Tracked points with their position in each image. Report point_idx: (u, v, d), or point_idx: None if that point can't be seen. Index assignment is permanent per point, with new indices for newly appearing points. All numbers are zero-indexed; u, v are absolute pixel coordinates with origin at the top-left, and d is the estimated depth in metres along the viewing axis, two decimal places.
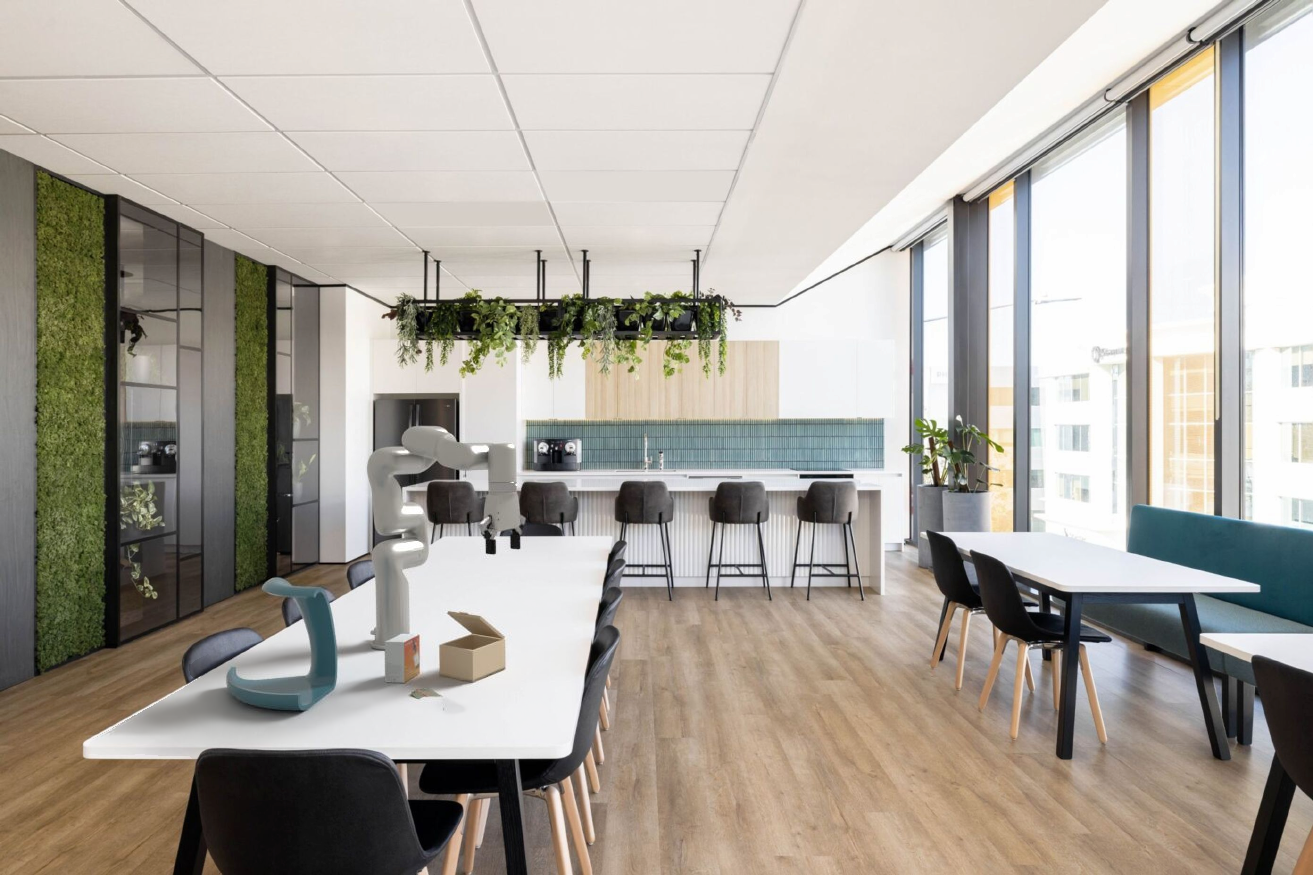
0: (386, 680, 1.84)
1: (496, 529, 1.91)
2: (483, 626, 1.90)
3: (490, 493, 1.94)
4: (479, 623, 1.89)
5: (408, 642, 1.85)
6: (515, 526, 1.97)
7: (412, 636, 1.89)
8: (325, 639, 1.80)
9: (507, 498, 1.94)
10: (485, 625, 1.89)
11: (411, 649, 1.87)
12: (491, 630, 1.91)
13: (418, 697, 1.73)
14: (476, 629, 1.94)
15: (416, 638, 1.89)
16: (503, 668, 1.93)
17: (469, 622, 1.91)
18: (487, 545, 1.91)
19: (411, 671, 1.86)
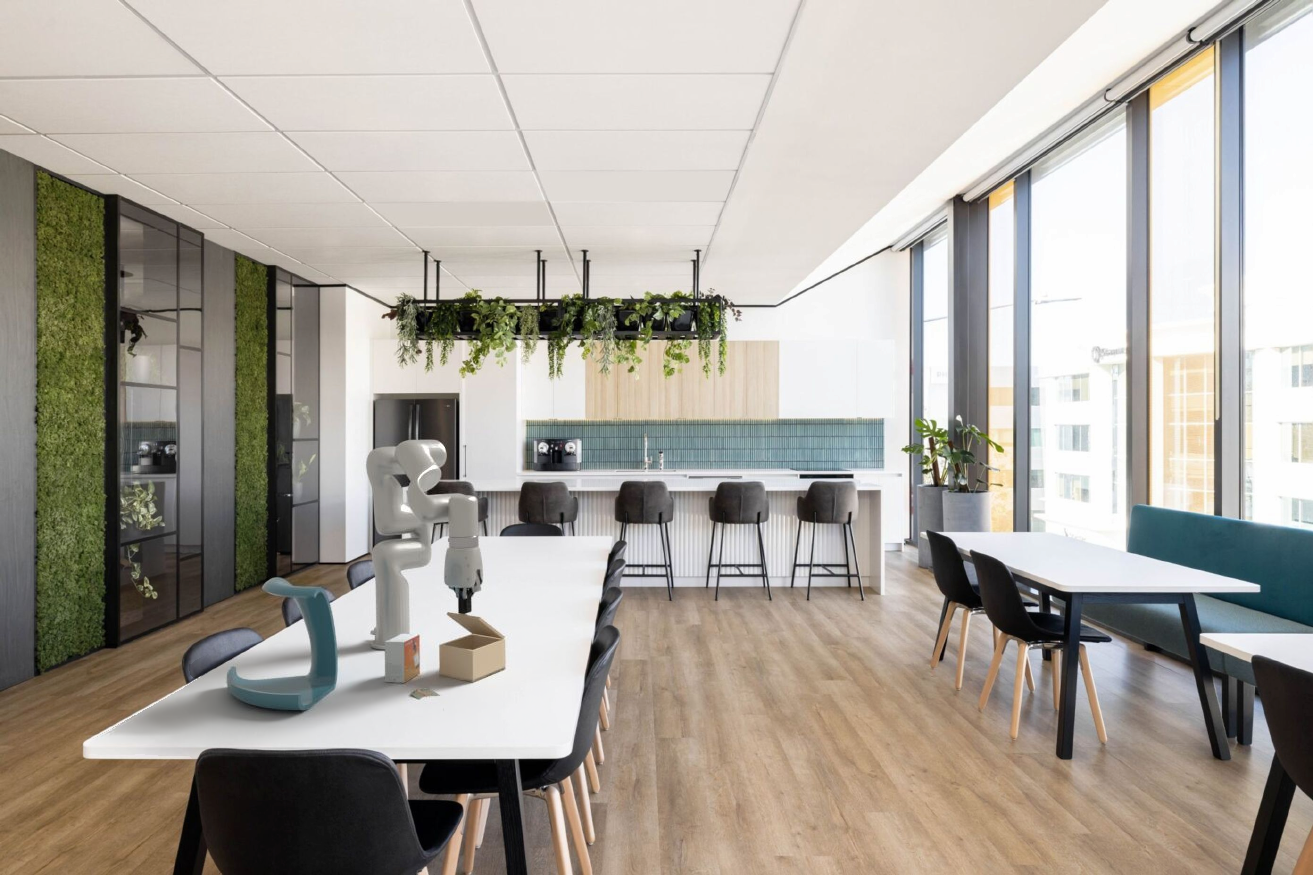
0: (386, 680, 1.84)
1: None
2: (483, 627, 1.90)
3: (470, 548, 1.86)
4: (479, 624, 1.89)
5: (408, 642, 1.85)
6: None
7: (412, 636, 1.89)
8: (325, 639, 1.80)
9: None
10: (485, 626, 1.89)
11: (411, 649, 1.87)
12: (491, 630, 1.90)
13: (418, 697, 1.73)
14: (476, 629, 1.94)
15: (416, 638, 1.89)
16: (503, 668, 1.93)
17: (469, 623, 1.91)
18: (468, 604, 1.88)
19: (411, 671, 1.86)
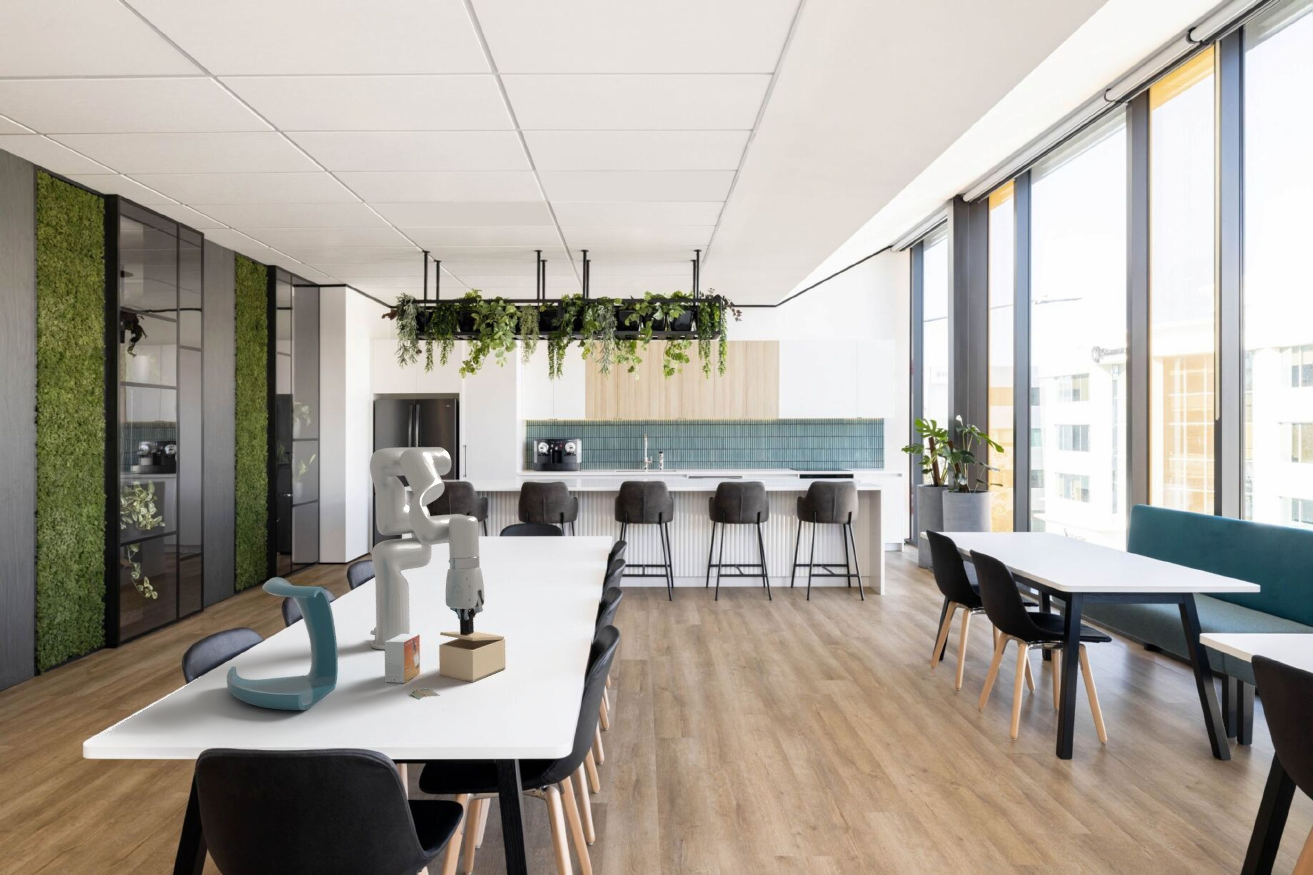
0: (386, 680, 1.84)
1: None
2: None
3: (471, 568, 1.86)
4: None
5: (408, 642, 1.85)
6: None
7: (412, 636, 1.89)
8: (325, 639, 1.80)
9: None
10: (481, 639, 1.87)
11: (411, 649, 1.87)
12: None
13: (418, 697, 1.73)
14: None
15: (416, 638, 1.89)
16: (503, 668, 1.93)
17: None
18: (470, 625, 1.87)
19: (411, 671, 1.86)
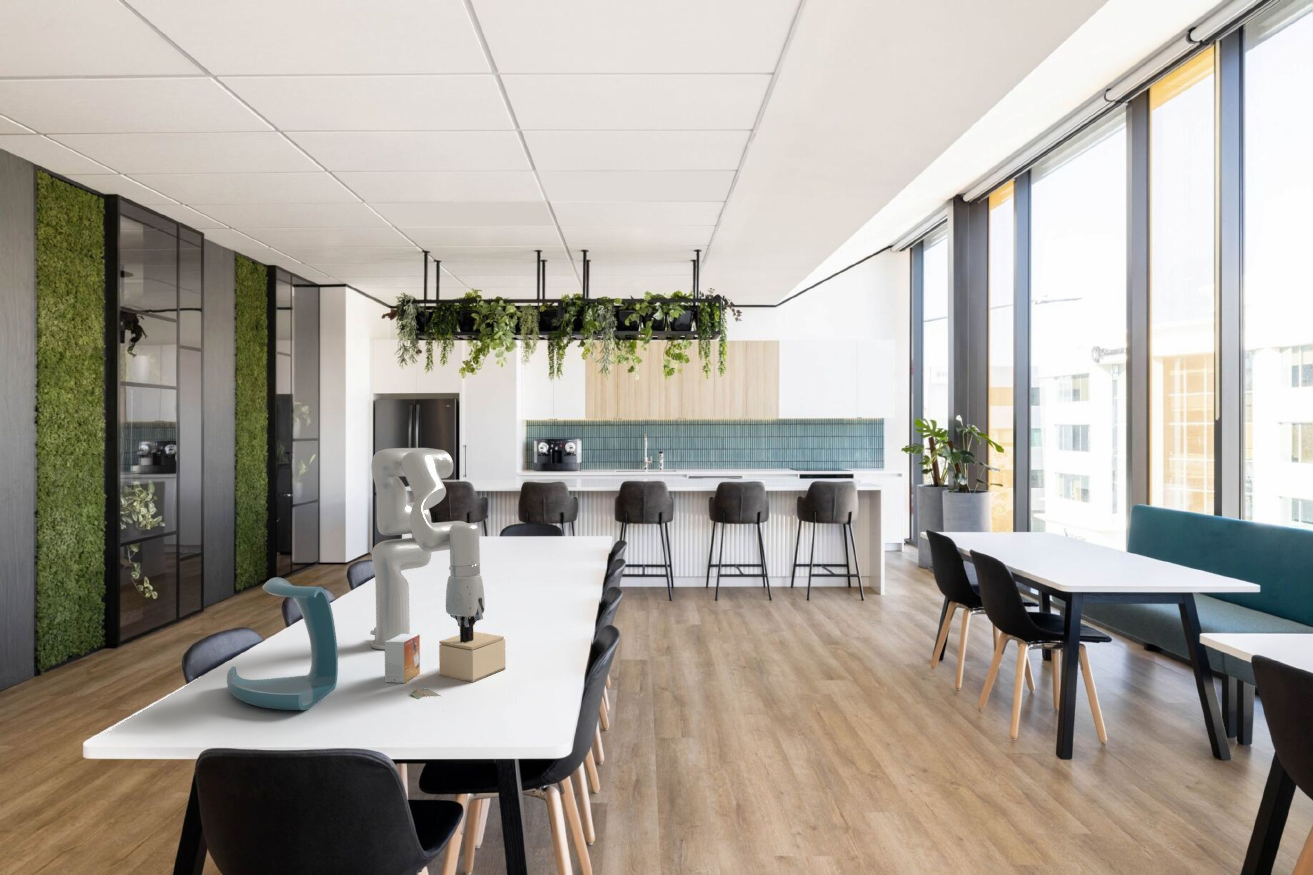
0: (386, 680, 1.84)
1: None
2: None
3: (472, 576, 1.86)
4: None
5: (408, 642, 1.85)
6: None
7: (412, 636, 1.89)
8: (325, 639, 1.80)
9: None
10: None
11: (411, 649, 1.87)
12: None
13: (418, 697, 1.73)
14: None
15: (416, 638, 1.89)
16: (503, 668, 1.93)
17: None
18: (470, 632, 1.88)
19: (411, 671, 1.86)
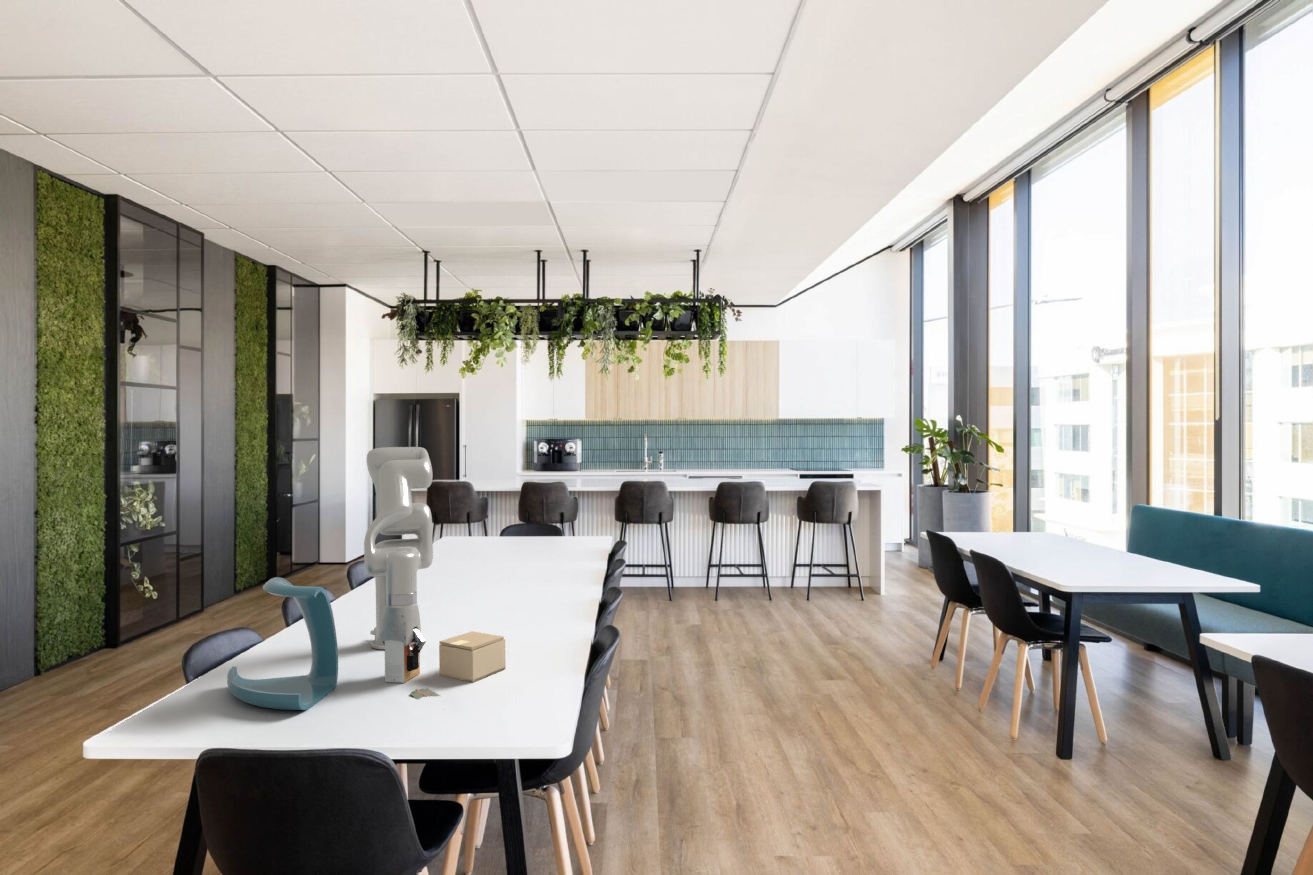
0: (386, 680, 1.84)
1: None
2: None
3: (407, 605, 1.85)
4: None
5: None
6: None
7: None
8: (326, 639, 1.80)
9: None
10: None
11: None
12: None
13: (418, 697, 1.73)
14: None
15: None
16: (503, 668, 1.93)
17: None
18: (414, 661, 1.85)
19: (411, 671, 1.86)
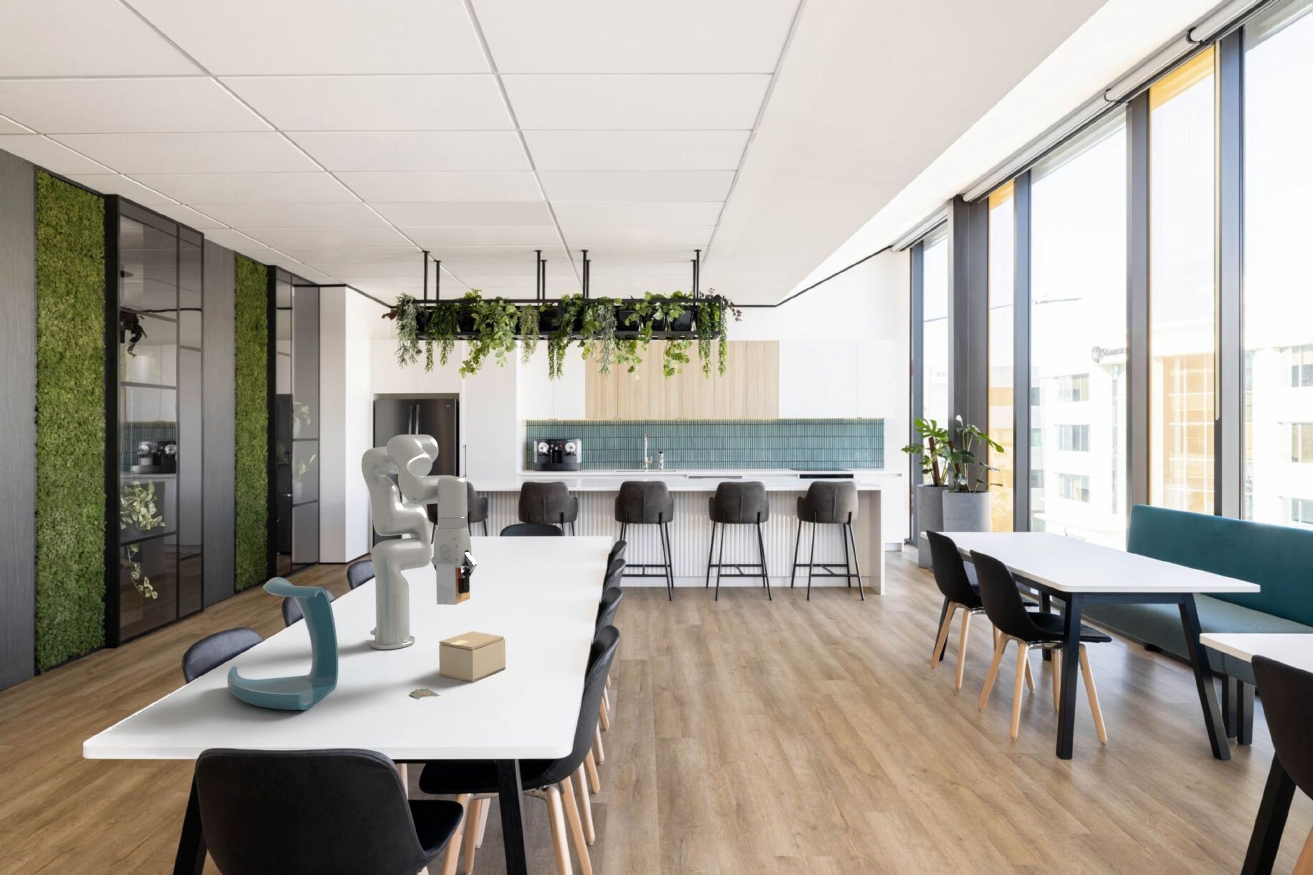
0: (438, 603, 1.86)
1: None
2: None
3: (459, 528, 1.87)
4: None
5: None
6: None
7: None
8: (326, 639, 1.80)
9: None
10: None
11: None
12: None
13: (417, 697, 1.73)
14: None
15: None
16: (503, 668, 1.93)
17: None
18: (466, 584, 1.87)
19: (462, 595, 1.88)
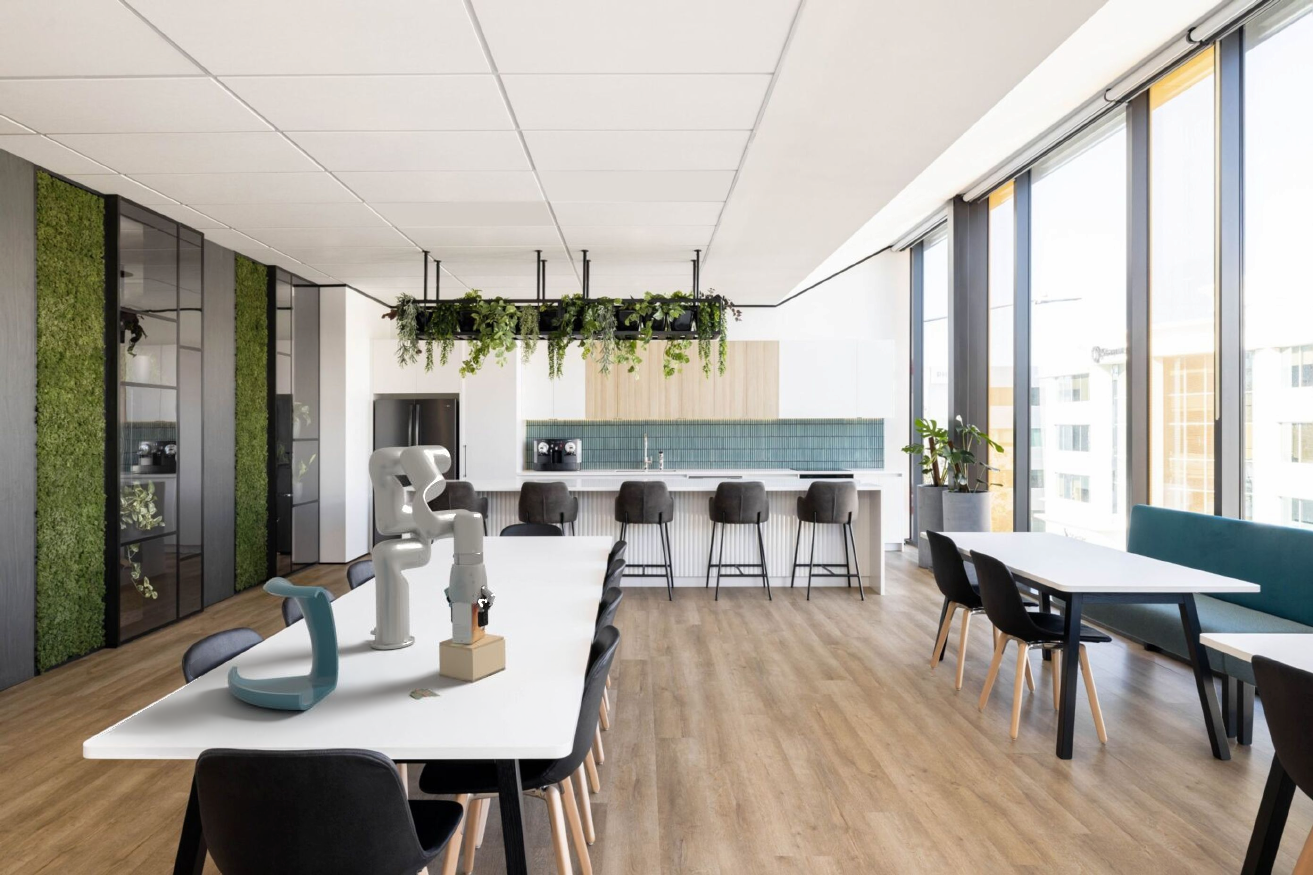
0: (453, 641, 1.87)
1: None
2: None
3: (475, 564, 1.88)
4: None
5: (475, 604, 1.88)
6: None
7: None
8: (326, 639, 1.80)
9: None
10: None
11: (477, 611, 1.90)
12: None
13: (417, 697, 1.73)
14: None
15: None
16: (503, 668, 1.93)
17: None
18: (485, 617, 1.87)
19: (477, 633, 1.89)
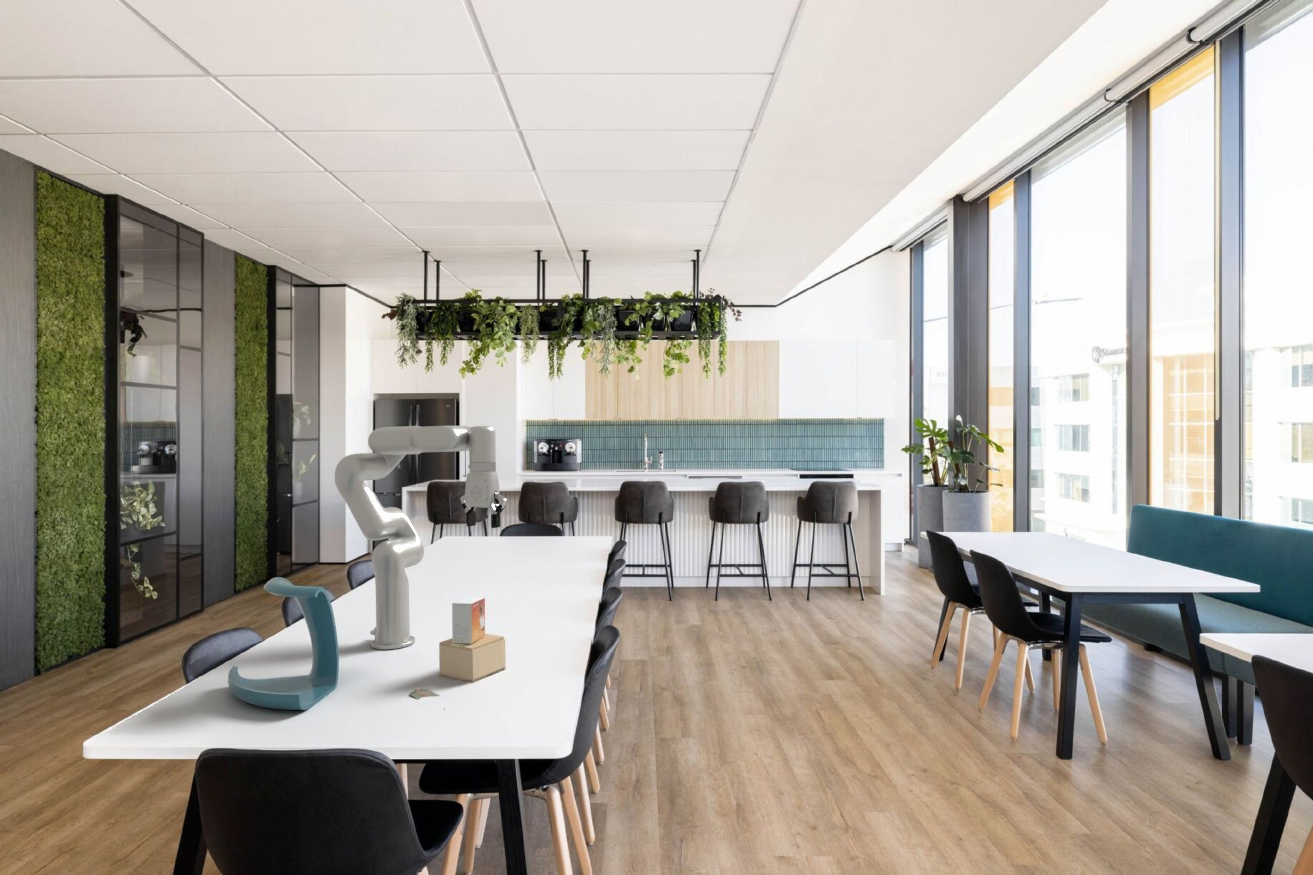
0: (453, 641, 1.87)
1: (498, 504, 2.10)
2: None
3: (489, 472, 2.08)
4: None
5: (475, 604, 1.88)
6: None
7: (478, 599, 1.92)
8: (326, 639, 1.80)
9: None
10: None
11: (477, 611, 1.90)
12: None
13: (417, 697, 1.73)
14: None
15: (482, 601, 1.92)
16: (503, 668, 1.93)
17: None
18: (497, 519, 2.08)
19: (477, 633, 1.89)
